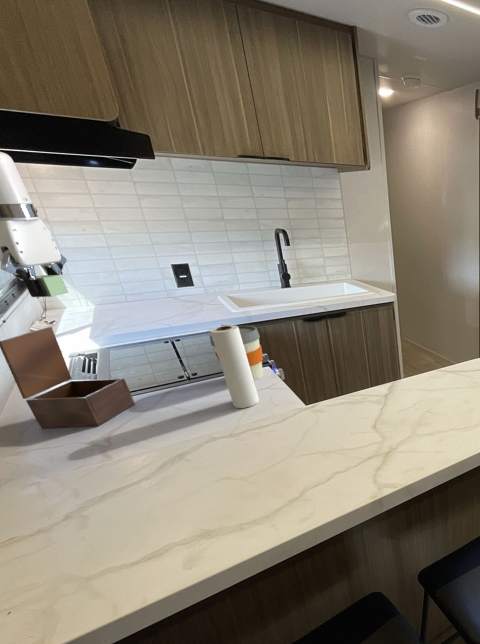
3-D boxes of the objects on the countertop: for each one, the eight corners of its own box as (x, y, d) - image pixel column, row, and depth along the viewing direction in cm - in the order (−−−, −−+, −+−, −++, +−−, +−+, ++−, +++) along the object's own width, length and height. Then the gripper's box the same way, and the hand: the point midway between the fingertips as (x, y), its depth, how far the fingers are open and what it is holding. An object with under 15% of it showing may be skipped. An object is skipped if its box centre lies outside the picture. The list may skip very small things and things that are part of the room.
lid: (51, 326, 100) (48, 326, 100) (0, 342, 89) (-3, 341, 89) (71, 378, 105) (68, 378, 105) (26, 398, 95) (22, 398, 95)
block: (51, 296, 96) (43, 278, 94) (32, 297, 95) (23, 278, 94) (68, 292, 100) (60, 274, 98) (50, 293, 99) (41, 275, 98)
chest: (135, 404, 109) (124, 378, 106) (98, 426, 99) (84, 398, 96) (83, 406, 109) (71, 380, 106) (41, 428, 98) (25, 400, 95)
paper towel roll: (252, 408, 106) (229, 331, 98) (229, 409, 106) (204, 331, 97) (265, 396, 113) (245, 322, 104) (243, 397, 112) (221, 323, 104)
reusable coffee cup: (272, 379, 124) (260, 332, 118) (224, 389, 117) (208, 340, 111) (266, 366, 133) (255, 322, 127) (222, 375, 126) (207, 330, 120)
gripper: (32, 212, 97) (66, 287, 105) (-51, 215, 82) (-4, 303, 89) (64, 211, 98) (96, 287, 105) (-12, 214, 82) (31, 302, 90)
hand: (49, 293), depth 97 cm, fingers closed on block, 4 cm apart
